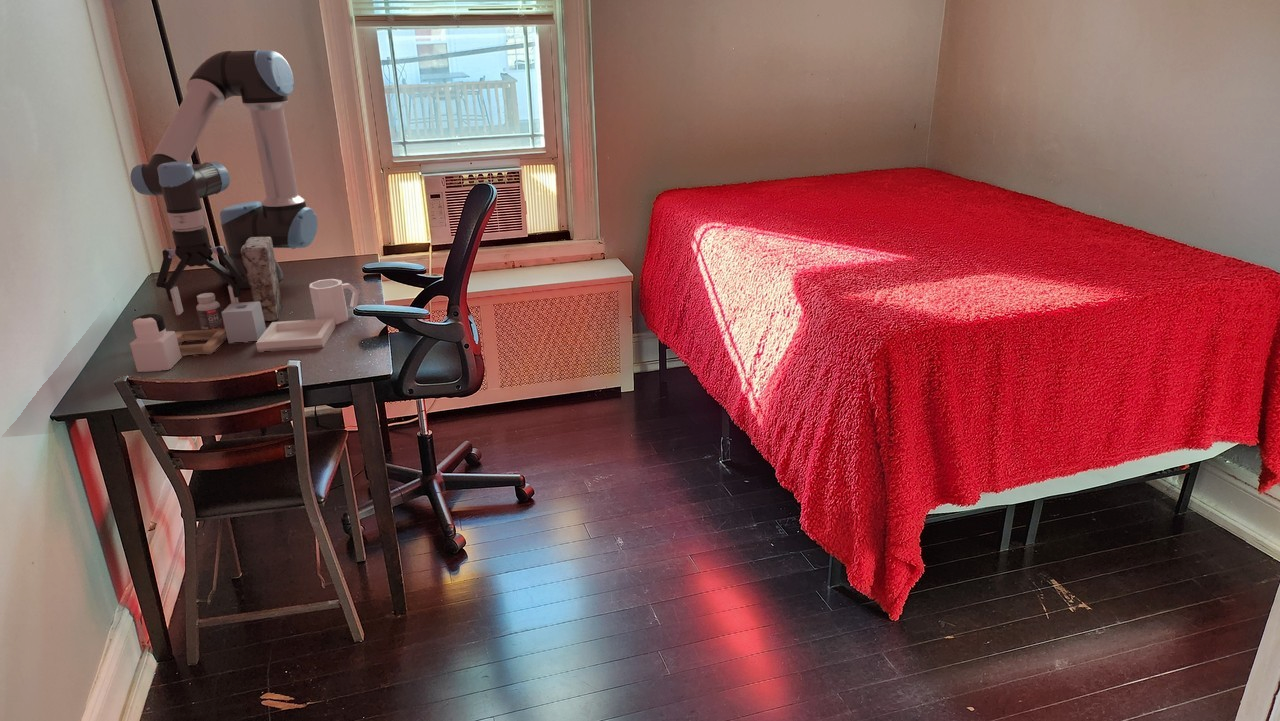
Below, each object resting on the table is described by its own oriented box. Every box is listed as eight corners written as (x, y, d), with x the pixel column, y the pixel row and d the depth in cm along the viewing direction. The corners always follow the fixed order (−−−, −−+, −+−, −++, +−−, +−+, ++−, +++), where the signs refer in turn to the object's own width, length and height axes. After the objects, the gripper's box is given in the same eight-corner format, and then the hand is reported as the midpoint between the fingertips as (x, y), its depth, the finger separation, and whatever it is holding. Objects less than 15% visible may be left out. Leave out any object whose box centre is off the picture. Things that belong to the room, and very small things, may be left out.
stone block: (285, 320, 219) (269, 245, 211) (256, 324, 216) (239, 248, 208) (285, 304, 230) (270, 233, 222) (258, 308, 228) (242, 236, 220)
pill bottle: (214, 336, 209) (205, 299, 205) (197, 334, 210) (188, 297, 207) (230, 328, 214) (222, 292, 210) (213, 327, 215) (204, 290, 211)
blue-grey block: (237, 333, 210) (230, 303, 207) (266, 331, 211) (260, 301, 208) (228, 343, 204) (221, 312, 201) (258, 341, 205) (251, 310, 202)
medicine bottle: (151, 360, 195) (137, 312, 191) (182, 358, 196) (170, 310, 191) (137, 372, 189) (122, 323, 184) (169, 371, 189) (156, 321, 185)
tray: (274, 331, 211) (272, 322, 210) (335, 327, 212) (333, 318, 211) (257, 352, 198) (255, 342, 197) (323, 347, 200) (321, 338, 199)
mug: (321, 328, 212) (314, 291, 208) (310, 319, 219) (303, 283, 215) (367, 317, 219) (361, 281, 215) (355, 308, 225) (349, 273, 221)
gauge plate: (179, 339, 208) (177, 331, 207) (229, 335, 209) (227, 328, 208) (159, 357, 197) (157, 350, 196) (213, 354, 198) (211, 346, 197)
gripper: (127, 234, 197) (149, 319, 205) (237, 228, 199) (255, 312, 207) (140, 227, 204) (162, 309, 212) (247, 221, 206) (264, 303, 214)
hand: (208, 311), depth 210 cm, fingers open, 13 cm apart
